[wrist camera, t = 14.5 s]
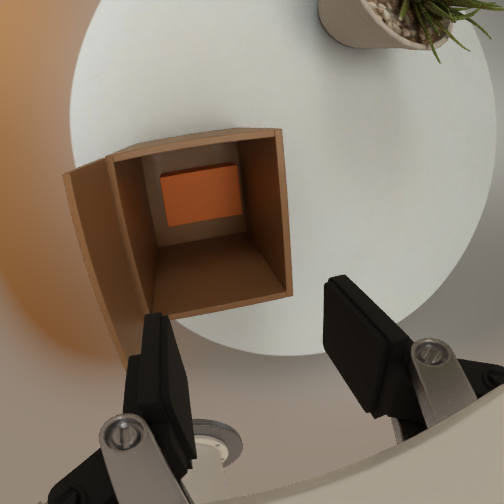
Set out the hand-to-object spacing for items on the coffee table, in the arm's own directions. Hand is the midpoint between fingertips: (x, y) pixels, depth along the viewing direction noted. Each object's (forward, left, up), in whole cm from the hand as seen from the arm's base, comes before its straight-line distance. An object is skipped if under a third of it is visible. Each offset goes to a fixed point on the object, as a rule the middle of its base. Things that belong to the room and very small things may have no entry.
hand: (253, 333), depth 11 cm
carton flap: (0, +6, -8) cm, 10 cm away
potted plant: (+19, -20, -26) cm, 38 cm away
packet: (0, 0, -25) cm, 25 cm away
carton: (0, +1, -25) cm, 25 cm away
